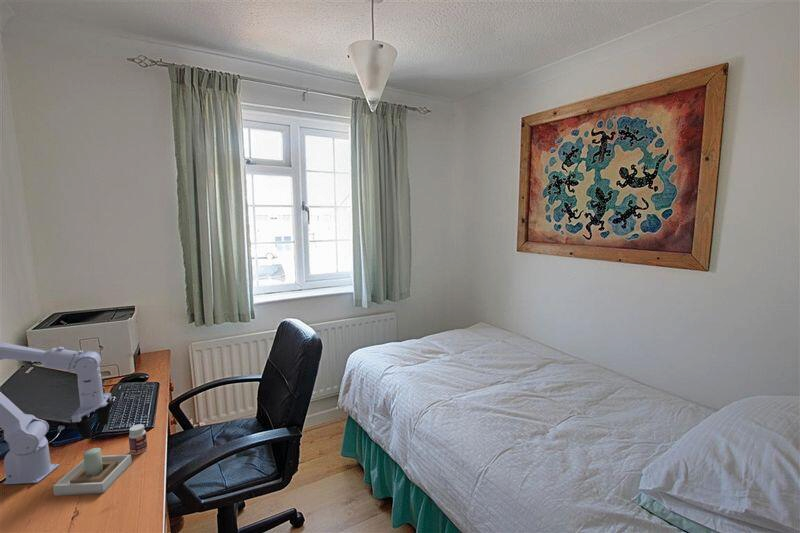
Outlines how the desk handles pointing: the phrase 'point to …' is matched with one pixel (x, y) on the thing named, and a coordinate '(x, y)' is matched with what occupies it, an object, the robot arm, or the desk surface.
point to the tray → (81, 484)
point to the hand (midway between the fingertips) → (95, 431)
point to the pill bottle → (137, 439)
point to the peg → (93, 462)
